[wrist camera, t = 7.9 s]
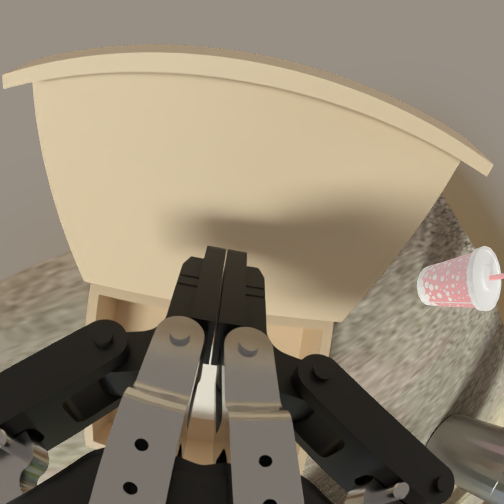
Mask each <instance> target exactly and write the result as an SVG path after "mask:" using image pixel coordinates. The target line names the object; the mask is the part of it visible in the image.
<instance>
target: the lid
mask: <svg viewBox="0 0 504 504" xmlns="http://www.w3.org/2000/svg"><path fill="white" fill-rule="evenodd" d="M2 76H3V88H4V89H5V88H9V87H13V86H17V85H21V84H26V83H31V82H33V93H34V103H35V112H36V120H37V126H38V132H39V139H40V144H41V149H42V154H43V159H44V163H45V168H46V172H47V176H48V180H49V184H50V187H51V191H52V195H53V198H54V202H55V205H56V208H57V211H58V214H59V218H60V221H61V224H62V227H63V229H64V232H65V235H66V238H67V241H68V243H69V246H70V249H71V251H72V254H73V256H74V259H75V261H76V264H77V266H78V268H79V271H80V273H81V275H82V278H83V280H84V281H85V282H90V283H94V284H98V285H102V286H107V287H111V288H116V289H120V290H125V291H130V292H134V293H139V294H144V295H149V296H154V297H159V298H165V299H170V300H171V299H172V296H173V293H174V289H175V286H176V284H177V280H178V277H179V274H180V271H181V268H182V265H183V263H184V262H185V261H186V260H188V259H189V258H190V257H191V256H193V257H198V258H204V257H205V253H206V249H207V245H208V246H213V247H219V248H225V249H226V255H225V261H226V256H227V251H228V249H231V250H236V251H242V252H247V266H250V267H256V268H259V270H260V271H261V273H262V275H263V276H264V278H265V301H266V314H267V315H275V316H284V317H292V318H302V319H311V320H322V321H333V322H342V321H343V320H344V319H345V317H346V316H347V315H348V314H349V313H350V312H351V311H352V310H353V309H354V308H355V306H356V305H357V304H358V303H359V302H360V301H361V300H362V298H363V297H364V296H365V295H366V294H367V293H368V292H369V290H370V289H371V288H372V287H373V286H374V284H375V283H376V282H377V281H378V280H379V278H380V277H381V276H382V275H383V274H384V272H385V271H386V270H387V269H388V267H389V266H390V265H391V263H392V262H393V261H394V260H395V258H396V257H397V256H398V254H399V253H400V252H401V251H402V249H403V248H404V247H405V245H406V244H407V243H408V241H409V240H410V238H411V237H412V236H413V234H414V233H415V232H416V230H417V229H418V227H419V226H420V224H421V223H422V222H423V220H424V219H425V217H426V216H427V214H428V213H429V211H430V210H431V208H432V207H433V205H434V204H435V202H436V201H437V199H438V198H439V196H440V194H441V193H442V191H443V190H444V188H445V186H446V185H447V183H448V181H449V180H450V178H451V176H452V175H453V173H454V171H455V170H456V168H457V166H458V165H459V163H460V161H463V162H465V163H466V164H468V165H470V166H471V167H473V168H474V169H476V170H478V171H479V172H481V173H482V174H484V175H485V176H487V175H488V173H489V172H490V170H491V169H492V167H493V164H492V163H491V162H490V161H489V160H488V159H487V158H486V157H485V156H484V155H483V154H482V153H481V152H480V151H479V150H478V149H477V148H476V147H475V146H474V145H472V144H471V143H470V142H469V141H468V140H467V139H466V138H465V137H463V136H462V135H460V134H459V133H457V132H456V131H454V130H452V129H451V128H449V127H448V126H446V125H444V124H443V123H441V122H439V121H438V120H436V119H434V118H432V117H431V116H429V115H427V114H425V113H423V112H422V111H420V110H418V109H416V108H414V107H412V106H410V105H408V104H406V103H404V102H402V101H400V100H398V99H396V98H393V97H391V96H389V95H387V94H385V93H382V92H380V91H378V90H375V89H373V88H371V87H368V86H366V85H363V84H361V83H358V82H355V81H353V80H350V79H347V78H344V77H342V76H339V75H336V74H333V73H330V72H327V71H324V70H320V69H317V68H314V67H310V66H307V65H303V64H299V63H295V62H292V61H287V60H283V59H279V58H274V57H269V56H265V55H260V54H254V53H248V52H242V51H236V50H229V49H221V48H213V47H202V46H189V45H157V44H154V45H124V46H111V47H100V48H92V49H85V50H78V51H72V52H66V53H61V54H56V55H51V56H47V57H42V58H39V59H37V60H34V61H32V62H30V63H27V64H25V65H22V66H20V67H18V68H16V69H14V70H11V71H9V72H7V73H5V74H3V75H2ZM224 266H225V262H224ZM223 271H224V269H223ZM222 277H223V276H222Z"/></svg>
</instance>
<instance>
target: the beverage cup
mask: <svg viewBox="0 0 504 504" xmlns="http://www.w3.org/2000/svg"><path fill="white" fill-rule="evenodd" d="M501 279H504V273H502V274H501V272H500V265H499V262H498V260H497V257H496V255H495V253H494V252H493V251H492V249H491V248H489V247H487V246H483V247H481V248H477V249H475V250H474V251H473V252H472V253H469V254H466V255H463V256H460V257H457V258H454V259H451V260H447V261H444V262H441V263H437V264H434V265H431V266H428V267H425V268H424V269H423V270H422V271H421V272H420V274H419V277H418V282H417V289H418V295H419V297H420V299H421V301H422V302H423V303H425V304H426V305H434V306H450V307H469V308H476V309H477V310H482V311H490V310H491V309H492V308H494V307H495V305H496V303H497V301H498V299H499V295H500V290H501Z"/></svg>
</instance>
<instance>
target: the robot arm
mask: <svg viewBox="0 0 504 504" xmlns="http://www.w3.org/2000/svg"><path fill="white" fill-rule="evenodd" d="M225 255H226V249H225V248H219V247H213V246H208V245H207V249H206V253H205V257H204V258H198V257H193V256H191V257H190V258H189V259H188V260H186V261H185V262H184V263H183V265H182V268H181V271H180V274H179V277H178V280H177V284H176V286H175V289H174V293H173V296H172V299H171V302H170V306H169V309H168V312H167V315H166V318H165V319H164V320H163V321H162V322H160V323H159V325H158V326H157V327H155V328H153V329H151V330H147V331H136V332H126V331H125V329H124V328H123V327H122V326H121V325H120V324H119V323H117V322H115V321H112V320H108V319H102V320H97V321H94V322H92V323H90V324H88V325H86V326H85V327H83V328H81V329H79V330H77V331H75V332H73V333H72V334H70V335H68V336H66V337H64V338H62V339H61V340H59V341H57V342H55V343H53V344H51V345H49V346H48V347H46V348H44V349H42V350H40V351H39V352H37V353H35V354H33V355H31V356H29V357H28V358H26V359H24V360H22V361H20V362H19V363H17V364H15V365H13V366H11V367H10V368H8V369H6V370H4V371H2V372H1V373H0V504H333V503H332V502H331V501H330V500H329V499H328V498H327V497H326V496H325V495H324V494H323V493H322V492H321V491H320V490H319V489H318V488H317V487H316V486H315V485H314V484H312V483H311V482H310V481H309V480H307V479H306V478H304V477H303V476H301V475H300V469H299V463H298V456H297V449H296V443H297V444H298V445H299V446H300V447H301V448H302V449H303V450H304V451H305V452H306V453H307V454H308V455H309V456H310V457H311V458H312V459H313V460H314V461H315V462H316V463H317V464H318V465H319V466H320V467H321V468H322V469H323V470H324V471H325V472H326V473H327V474H328V475H329V476H330V477H332V478H333V479H334V480H335V481H336V482H337V483H338V484H339V485H340V486H341V487H342V488H343V489H345V490H346V491H347V492H348V494H347V496H346V500H345V501H344V504H442V503H444V502H445V501H446V500H447V499H448V498H449V497H450V496H451V494H452V492H453V489H454V484H455V485H456V486H458V487H460V488H462V489H464V490H465V491H467V492H469V493H471V494H473V495H475V496H477V497H479V498H481V499H483V500H485V501H487V502H489V503H491V504H504V427H500V426H497V425H494V424H490V423H487V422H484V421H481V420H478V419H475V418H472V417H469V416H466V415H463V414H460V413H457V414H454V415H452V416H450V417H448V418H447V419H446V420H445V421H444V422H443V423H442V424H441V425H440V426H439V427H438V428H437V430H436V431H435V432H434V434H433V435H432V437H431V438H430V440H429V442H428V444H427V446H426V447H425V446H424V445H423V444H422V443H421V442H420V441H419V440H418V439H417V438H415V437H414V436H413V435H412V434H411V433H410V432H409V431H408V430H407V429H406V428H405V427H404V426H402V425H401V424H400V423H399V422H398V421H397V420H396V419H395V418H394V417H393V416H392V415H391V414H390V413H388V412H387V411H386V410H385V409H384V408H383V407H382V406H381V405H380V404H379V403H378V402H377V401H376V400H375V399H374V398H373V397H371V396H370V395H369V394H368V393H367V392H366V391H365V390H364V389H363V388H362V387H361V386H360V385H359V384H358V383H357V382H356V381H355V380H354V379H353V378H352V377H351V376H350V375H348V374H347V373H346V372H345V371H344V370H343V369H342V368H341V367H340V366H339V365H338V364H337V363H336V362H335V361H334V360H333V359H331V358H329V357H327V356H325V355H321V354H311V355H308V356H306V357H304V358H303V359H302V360H301V359H298V358H296V357H293V356H290V355H288V354H285V353H283V352H281V351H280V350H278V349H277V348H276V347H275V346H274V345H273V344H272V343H271V341H270V339H269V338H268V335H267V325H266V301H265V278H264V276H263V275H262V273H261V271H260V270H259V268H256V267H250V266H247V252H242V251H236V250H231V249H228V251H227V256H226V261H225ZM224 262H225V266H224ZM223 269H224V271H223ZM222 276H223V277H222ZM214 332H215V333H214ZM213 338H214V341H213ZM212 343H213V349H212ZM211 349H212V357H211V365H215V366H217V371H216V379H215V383H214V441H213V464H209V465H200V464H196V463H194V462H191V461H188V460H186V459H183V456H184V451H185V446H186V441H187V434H188V429H189V424H190V419H191V415H192V410H193V406H194V401H195V397H196V392H197V388H198V383H199V382H200V380H201V376H202V369H203V364H208V365H209V360H210V354H211ZM117 407H118V410H117V413H116V416H115V419H114V422H113V425H112V428H111V430H110V433H109V437H108V440H107V443H106V446H105V447H104V448H100V449H97V450H94V451H92V452H90V453H87V454H86V455H84V456H83V457H81V458H80V459H78V460H77V461H75V462H74V463H72V464H71V465H69V466H68V467H66V468H65V469H63V470H62V471H60V472H58V473H57V474H55V475H54V476H52V477H50V478H49V479H47V480H46V481H44V482H42V483H41V484H39V485H37V481H38V479H39V477H40V476H41V475H42V474H43V473H45V471H46V470H47V468H48V465H49V457H48V453H47V451H48V450H50V449H52V448H53V447H55V446H57V445H58V444H60V443H62V442H63V441H65V440H67V439H68V438H70V437H72V436H73V435H75V434H77V433H78V432H80V431H82V430H83V429H85V428H86V427H88V426H90V425H91V424H93V423H94V422H96V421H97V420H99V419H101V418H102V417H104V416H105V415H107V414H108V413H110V412H111V411H113V410H114V409H116V408H117ZM295 441H296V443H295Z"/></svg>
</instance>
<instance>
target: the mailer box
mask: <svg viewBox="0 0 504 504" xmlns="http://www.w3.org/2000/svg"><path fill="white" fill-rule="evenodd" d="M170 302H171V300H170V299H165V298H159V297H154V296H149V295H144V294H139V293H134V292H130V291H125V290H120V289H116V288H111V287H107V286H102V285H98V284H94V283H91V286H90V292H89V300H88V307H87V316H86V325H88V324H90V323H92V322H94V321H97V320H102V319H108V320H112V321H115V322H117V323H119V324H120V325H121V326H122V327H123V328H124V329H125V331H126V332H136V331H147V330H151V329H153V328H155V327H157V326H158V325H159V323H160V322H162V321H163V320H164V319H165V318H166V315H167V312H168V309H169V306H170ZM266 325H267V335H268V338H269V339H270V341H271V343H272V344H273V345H274V346H275V347H276V348H277V349H278V350H280V351H281V352H283V353H285V354H288V355H290V356H293V357H296V358H298V359H301V360H302V359H303V358H304V357H306V356H308V355H311V354H321V355H325V356H327V357H329V352H330V345H331V339H332V332H333V325H334V322H333V321H322V320H311V319H302V318H292V317H284V316H275V315H267V314H266ZM214 333H215V332H214ZM213 341H214V338H213ZM212 349H213V343H212ZM212 349H211V354H210V360H209V365H208V364H203V369H202V376H201V380H200V382H199V383H198V388H197V392H196V397H195V401H194V406H193V410H192V415H191V419H190V424H189V429H188V434H187V441H186V446H185V451H184V456H183V459H186V460H188V461H191V462H194V463H196V464H200V465H209V464H213V441H214V383H215V379H216V371H217V366H215V365H211V357H212ZM117 410H118V407H117V408H116V409H114V410H113V411H111V412H110V413H108V414H107V415H105V416H104V417H102V418H101V419H99V420H97V421H96V422H94V423H93V424H91V425H90V426H88V427H86V428H85V429H84V434H85V444H86V446H88V447H91V448H94V449H96V450H97V449H100V448H104V447H105V446H106V443H107V440H108V437H109V433H110V430H111V428H112V425H113V422H114V419H115V416H116V413H117ZM295 443H296V441H295ZM296 449H297V456H298V463H299V469H300V475H302V472H303V469H304V465H305V462H306V458H307V453H306V452H305V451H304V450H303V449H302V448H301V447H300V446H299V445H298V444H297V443H296Z"/></svg>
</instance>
